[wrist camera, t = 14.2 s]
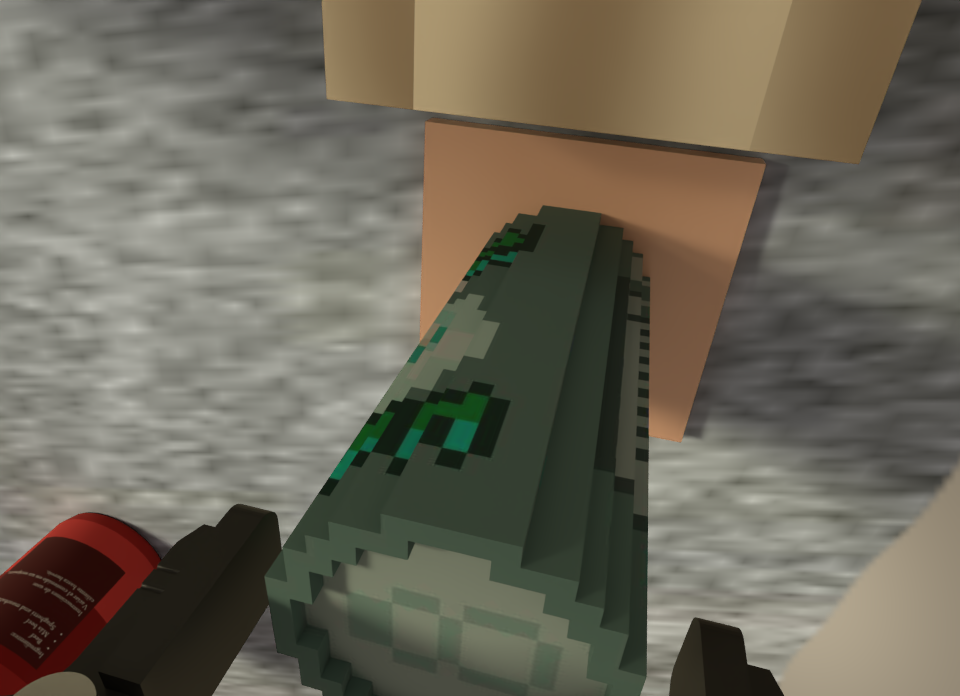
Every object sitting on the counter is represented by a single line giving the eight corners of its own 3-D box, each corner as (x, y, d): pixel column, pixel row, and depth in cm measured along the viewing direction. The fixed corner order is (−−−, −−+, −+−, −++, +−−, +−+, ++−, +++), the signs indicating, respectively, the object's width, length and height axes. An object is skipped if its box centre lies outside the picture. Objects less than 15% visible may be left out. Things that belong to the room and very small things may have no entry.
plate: (424, 379, 27) (418, 389, 26) (432, 117, 21) (425, 121, 21) (680, 430, 25) (680, 442, 25) (762, 158, 20) (766, 164, 19)
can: (485, 197, 22) (248, 482, 9) (662, 221, 21) (679, 583, 8) (475, 346, 25) (287, 715, 12) (628, 374, 24) (600, 810, 11)
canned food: (110, 598, 43) (-39, 764, 34) (41, 513, 40) (-145, 670, 31) (192, 595, 40) (54, 775, 31) (125, 503, 37) (-51, 672, 28)
